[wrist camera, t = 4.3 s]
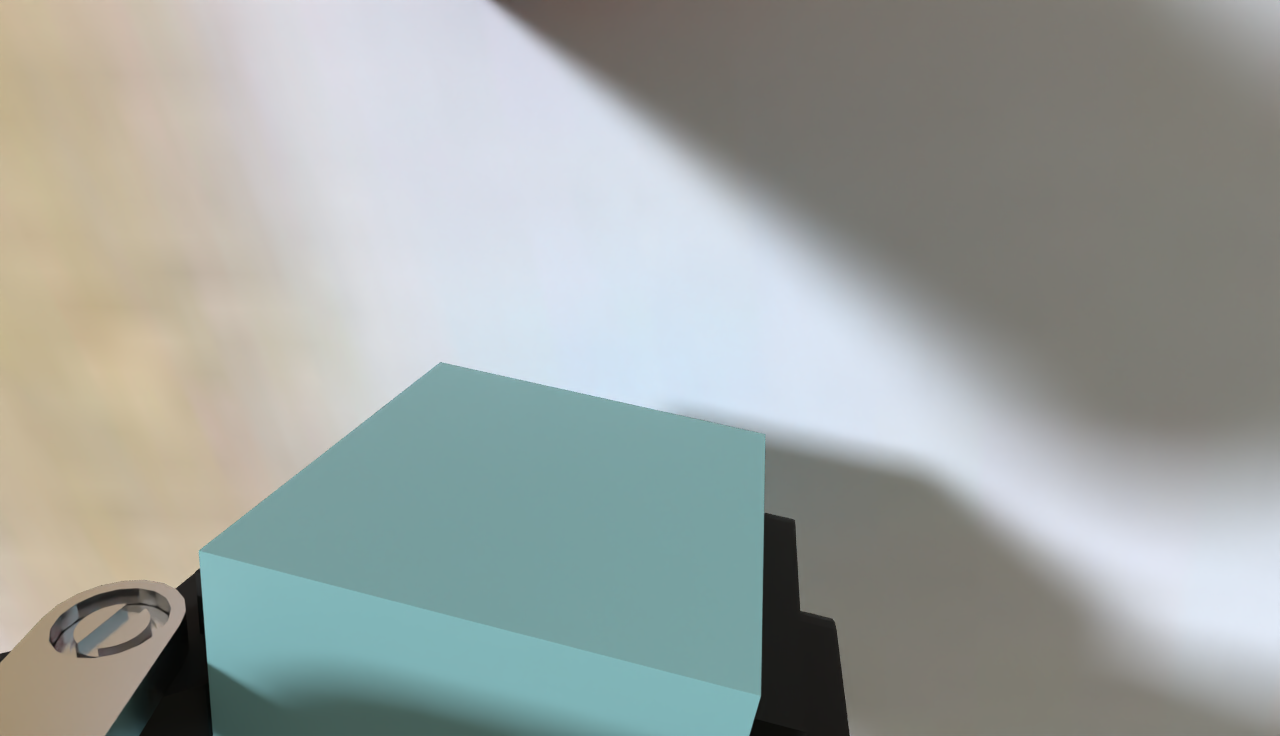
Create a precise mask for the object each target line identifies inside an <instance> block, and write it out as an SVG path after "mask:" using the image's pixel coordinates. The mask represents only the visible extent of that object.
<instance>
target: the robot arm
mask: <svg viewBox="0 0 1280 736" xmlns="http://www.w3.org/2000/svg"><path fill="white" fill-rule="evenodd" d="M0 736H213V729H212V716H211V703H210V690H209V677H208V664H207V651H206V638H205V625H204V612H203V599H202V586H201V573H200V569H198V570H197V571H196V572H195V573H194V574H193V575H192V576H191V577H189V578H188V579H187V580H186V581H184V582H183V583H182V584H181V585H180V586H178V587H177V588H176V589H175V588H172V587H170V586H168V585H166V584H164V583H160V582H154V581H147V580H134V581H121V582H116V583H111V584H106V585H101V586H98V587H95V588H92V589H90V590H87V591H84V592H81V593H78V594H77V595H75V596H73V597H71V598H69V599H67V600H66V601H64V602H62V603H60V604H58V605H57V606H56V607H55V608H53V609H52V610H51V611H50V612H49V613H47V614H46V615H45V616H44V617H43V618H42V619H41V620H40V621H39V622H38V623H37V624H36V625H35V626H34V627H33V628H32V629H31V630H30V632H29V633H28V634H27V635H26V636H25V637H24V638H23V639H22V640H21V641H20V642H19V643H18V644H17V645H16V647H15V648H14V649H13V650H12V651H10V652H5V653H1V654H0ZM749 736H850V735H849V727H848V719H847V711H846V703H845V695H844V687H843V679H842V671H841V663H840V655H839V647H838V638H837V630H836V626H835V622H834V621H833V619H831V618H827V617H823V616H819V615H815V614H811V613H807V612H802V611H800V601H799V583H798V566H797V548H796V531H795V520H793V519H789V518H785V517H781V516H776V515H772V514H768V513H764V544H763V603H762V662H761V697H760V701H759V704H758V708H757V711H756V714H755V718H754V721H753V725H752V728H751V731H750V735H749Z"/></svg>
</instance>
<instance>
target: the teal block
mask: <svg viewBox="0 0 1280 736" xmlns="http://www.w3.org/2000/svg"><path fill="white" fill-rule="evenodd" d="M764 484H765V434H762V433H757V432H753V431H748V430H744V429H739V428H735V427H730V426H726V425H721V424H717V423H712V422H708V421H703V420H699V419H694V418H690V417H685V416H681V415H676V414H672V413H667V412H663V411H658V410H654V409H649V408H645V407H640V406H636V405H631V404H627V403H622V402H618V401H613V400H609V399H604V398H600V397H595V396H590V395H586V394H581V393H577V392H572V391H568V390H563V389H559V388H554V387H550V386H545V385H541V384H536V383H532V382H527V381H523V380H518V379H514V378H509V377H505V376H500V375H496V374H491V373H487V372H482V371H478V370H473V369H469V368H464V367H460V366H455V365H451V364H446V363H442V362H440V363H439V364H438V365H436V366H435V367H434V368H432V369H431V370H430V371H429V372H427V373H426V374H425V375H423V376H422V377H421V378H420V379H418V380H417V381H416V382H414V383H413V384H412V385H411V386H409V387H408V388H407V389H406V390H404V391H403V392H402V393H400V394H399V395H398V396H397V397H395V398H394V399H393V400H391V401H390V402H389V403H388V404H386V405H385V406H384V407H382V408H381V409H380V410H379V411H377V412H376V413H375V414H373V415H372V416H371V417H370V418H368V419H367V420H366V421H364V422H363V423H362V424H361V425H359V426H358V427H357V428H355V429H354V430H353V431H352V432H350V433H349V434H348V435H347V436H345V437H344V438H343V439H341V440H340V441H339V442H338V443H336V444H335V445H334V446H332V447H331V448H330V449H329V450H327V451H326V452H325V453H323V454H322V455H321V456H320V457H318V458H317V459H316V460H314V461H313V462H312V463H311V464H309V465H308V466H307V467H305V468H304V469H303V470H302V471H300V472H299V473H298V474H296V475H295V476H294V477H293V478H291V479H290V480H289V481H288V482H286V483H285V484H284V485H282V486H281V487H280V488H279V489H277V490H276V491H275V492H273V493H272V494H271V495H270V496H268V497H267V498H266V499H264V500H263V501H262V502H261V503H259V504H258V505H257V506H255V507H254V508H253V509H252V510H250V511H249V512H248V513H246V514H245V515H244V516H243V517H241V518H240V519H239V520H237V521H236V522H235V523H234V524H232V525H231V526H230V527H229V528H227V529H226V530H225V531H223V532H222V533H221V534H220V535H218V536H217V537H216V538H214V539H213V540H212V541H211V542H209V543H208V544H207V545H205V546H204V547H203V548H202V549H200V550H199V560H200V573H201V586H202V599H203V612H204V625H205V638H206V651H207V664H208V677H209V690H210V703H211V716H212V729H213V736H749V735H750V731H751V728H752V725H753V721H754V718H755V714H756V711H757V708H758V704H759V701H760V697H761V662H762V603H763V544H764Z"/></svg>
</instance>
